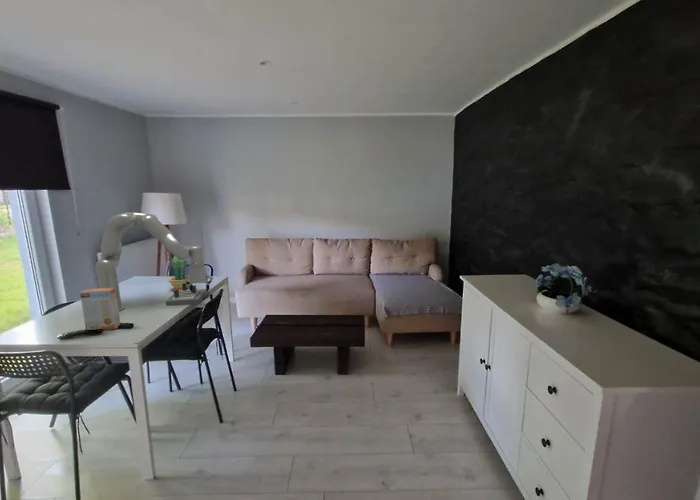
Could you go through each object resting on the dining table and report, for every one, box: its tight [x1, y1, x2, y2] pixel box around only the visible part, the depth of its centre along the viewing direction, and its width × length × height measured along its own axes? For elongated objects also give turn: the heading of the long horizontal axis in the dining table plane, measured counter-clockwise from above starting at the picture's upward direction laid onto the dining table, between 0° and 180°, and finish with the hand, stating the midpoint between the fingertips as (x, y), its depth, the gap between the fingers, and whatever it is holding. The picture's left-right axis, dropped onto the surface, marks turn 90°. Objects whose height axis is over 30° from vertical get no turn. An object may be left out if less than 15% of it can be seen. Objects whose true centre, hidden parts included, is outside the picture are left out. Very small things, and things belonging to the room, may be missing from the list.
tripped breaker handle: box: [192, 285, 197, 293], centre depth 227 cm, size 2×2×4 cm
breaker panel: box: [165, 283, 209, 307], centre depth 227 cm, size 23×19×8 cm
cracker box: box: [79, 287, 121, 331], centre depth 179 cm, size 14×6×21 cm, turn 96°
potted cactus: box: [167, 255, 190, 291], centre depth 249 cm, size 15×15×25 cm
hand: (199, 291), depth 228 cm, fingers open, 9 cm apart
